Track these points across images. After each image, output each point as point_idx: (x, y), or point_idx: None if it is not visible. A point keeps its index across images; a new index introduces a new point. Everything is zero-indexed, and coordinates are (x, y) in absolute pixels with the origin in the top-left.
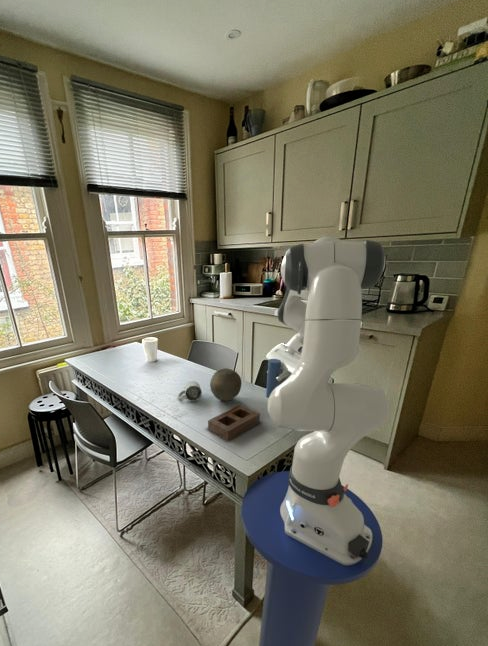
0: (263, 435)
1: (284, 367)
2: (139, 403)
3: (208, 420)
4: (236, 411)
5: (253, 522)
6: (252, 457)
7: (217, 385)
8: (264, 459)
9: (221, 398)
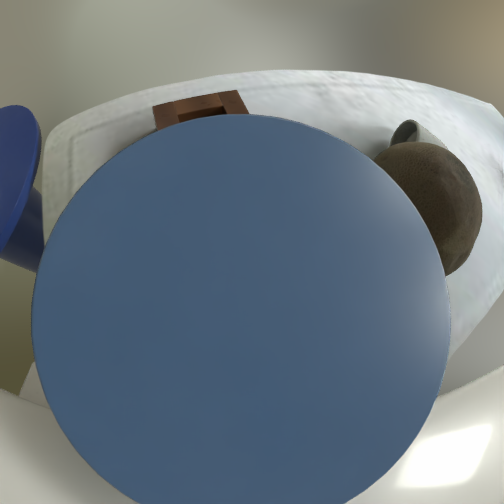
0: None
1: (38, 421)
2: (386, 77)
3: (236, 90)
4: None
5: (6, 114)
6: (69, 152)
7: (393, 145)
8: (48, 174)
9: None
